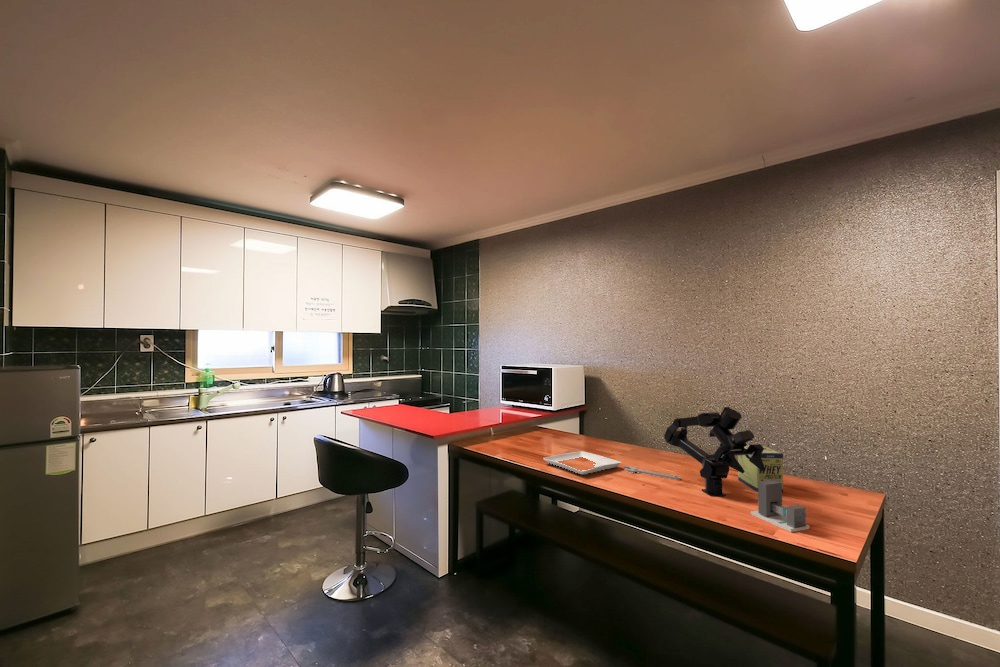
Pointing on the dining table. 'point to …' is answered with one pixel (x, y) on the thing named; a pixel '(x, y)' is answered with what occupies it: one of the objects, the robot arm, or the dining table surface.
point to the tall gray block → (769, 496)
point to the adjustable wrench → (633, 469)
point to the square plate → (600, 461)
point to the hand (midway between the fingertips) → (754, 471)
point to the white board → (778, 521)
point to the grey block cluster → (791, 514)
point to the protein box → (755, 475)
